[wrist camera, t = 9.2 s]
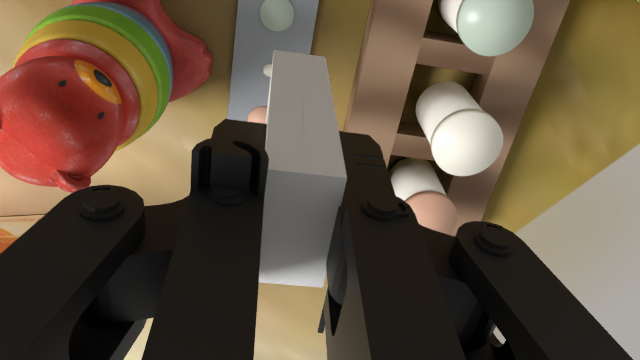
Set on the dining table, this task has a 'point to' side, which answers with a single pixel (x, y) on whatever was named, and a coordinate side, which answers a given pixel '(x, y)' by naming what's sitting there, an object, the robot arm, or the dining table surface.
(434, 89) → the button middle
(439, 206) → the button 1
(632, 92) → the dining table surface
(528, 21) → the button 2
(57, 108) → the stacking bear
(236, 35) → the card
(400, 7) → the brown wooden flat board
